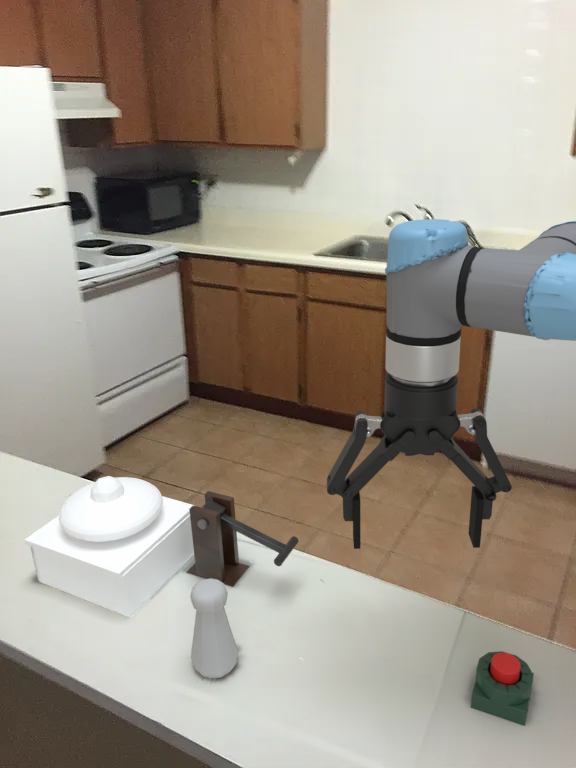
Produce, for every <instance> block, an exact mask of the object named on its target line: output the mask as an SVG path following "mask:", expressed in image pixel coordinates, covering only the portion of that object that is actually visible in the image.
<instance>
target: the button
mask: <svg viewBox="0 0 576 768" xmlns="http://www.w3.org/2000/svg"><path fill="white" fill-rule="evenodd" d="M503 652H504V651H503ZM503 652H502V653H497V654H495V655H494V656H493V657H492V660H491V668H490V673H491V676H492V677H493V679H494V680H495V681H497V682H498V683H501V684H504V685H513V684H515V683H516V682H517V681H518V680H519V676H520V668H521V665H520V662H519V660H518V659H517V658H516V657H515V656H513V655H514V654H513V655H511V654H512V653H510V652H506V653H503ZM509 653H510V654H509Z"/></svg>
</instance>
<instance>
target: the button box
mask: <svg viewBox="0 0 576 768" xmlns="http://www.w3.org/2000/svg"><path fill="white" fill-rule="evenodd" d="M502 652H503V653H507V652H506V651H501V650H500V651H499V650H498V651H489V652H486V653H485V654H484V655H483V656H481V657H479V659H478V661H477V665H476V668H475V669H476V671H475V681H474V686H473V689H472V693H471V701H470V708H471V709H473V710H476V711H479V712H481V713H485V714H488V715H491V716H494V717H497V718H500V719H502V720H505V721H509V722H511V723H514V724H518V725H520V726H523V727H525V726H526V722H527V715H528V710H529V706H530V700H531V694H532V688H533V682H534V675H535V673H534V672H532V670H531V668H530V666H529V664H528V663H527V662H525V661H524V660H523V659H522V658H520V657H519V656H518V655H516V654H513V653H510V652H508V653H509V654H511V655H513V656H515V657H516V658H517V659H518V660H519V662H520V665H521V668H520V676H519V680H518V681H517V682H516V683H515V684H513V685H504V684H501V683H498V682H497V681H495V680H494V679H493V677H492V676H491V673H490V668H491V660H492V657H493V656H494V655H495V654H497V653H502Z"/></svg>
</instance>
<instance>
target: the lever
mask: <svg viewBox="0 0 576 768" xmlns="http://www.w3.org/2000/svg"><path fill="white" fill-rule="evenodd" d="M201 508H205V509H209V510H213V511H217V512H219V513H220V523H221V524H223V525H225V526H227V527H229V528H231V529H233V530H235V531H237V533H239V534H241V535H242V536H244V537H247V538H248V539H251V540H253V541H254V542H256V543H258V544H260V545H262V546H265V547H266V548H268V549H270V550H272V551H274V552H276V553H278V554H277V555H276V557H275V558H274V559H273V564H274V565H275V566H276V567H281V566H283V564H284V562H285V561H286V560H287V558H288V557H289V556H290V555H291V553H292V552H293V551H294V549H295V547H297V545H298V544H299V538H298V537H297V536H294V535H292V536H290V539H288V541H287V543H283V542H281V541H280V540H277V539H275V538H273V537H271V536H270V535H268V534H266V533H264V532H261V531H259V530H257V529H255V528H253V527H252V526H249V525H247V524H246V523H243V522H242V521H240V520H238V519H236V518H235V519H234V518H232V517H230V516H228V515H226V514H225V510H226V507H224V506H222V505H220V504H218V503H216V502H214V501H212V500H209V501H208V502H207V503H206V504H205V503H204V504H203V505H202V506H201Z"/></svg>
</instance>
